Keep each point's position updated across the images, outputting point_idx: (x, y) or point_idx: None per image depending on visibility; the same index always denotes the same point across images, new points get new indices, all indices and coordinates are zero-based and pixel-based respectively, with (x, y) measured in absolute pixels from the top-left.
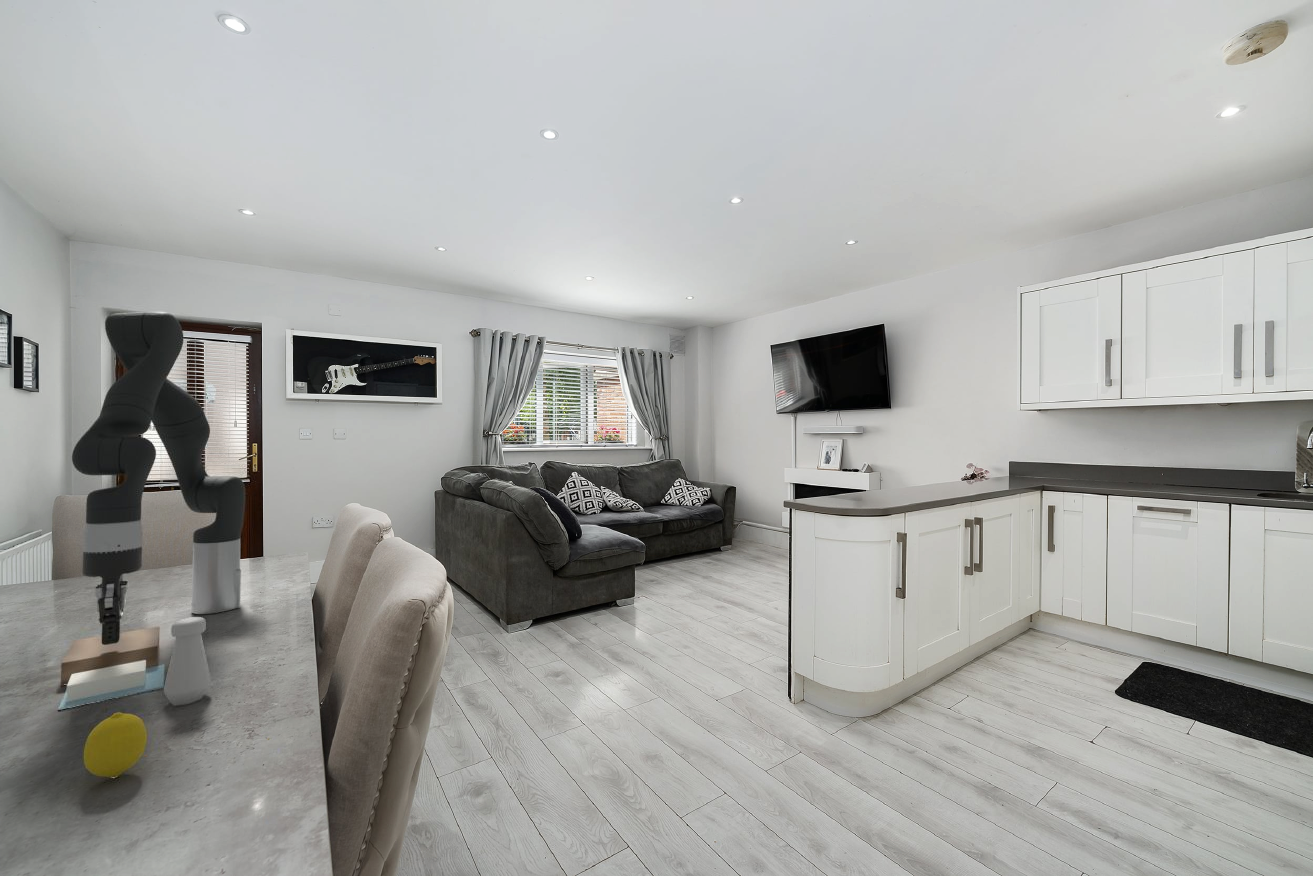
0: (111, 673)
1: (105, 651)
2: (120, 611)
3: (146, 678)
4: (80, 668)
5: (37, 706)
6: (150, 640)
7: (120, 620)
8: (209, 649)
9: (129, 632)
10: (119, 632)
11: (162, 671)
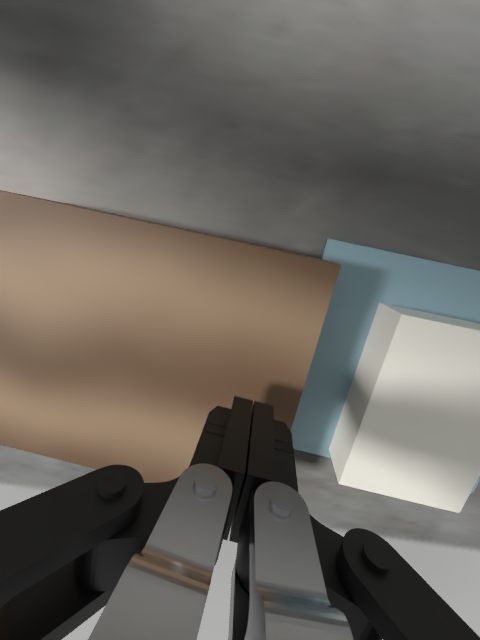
0: (459, 420)
1: None
2: (299, 575)
3: (435, 311)
4: None
5: (378, 503)
6: (215, 267)
7: (267, 483)
8: (252, 58)
9: (5, 300)
10: (262, 427)
11: (408, 261)
